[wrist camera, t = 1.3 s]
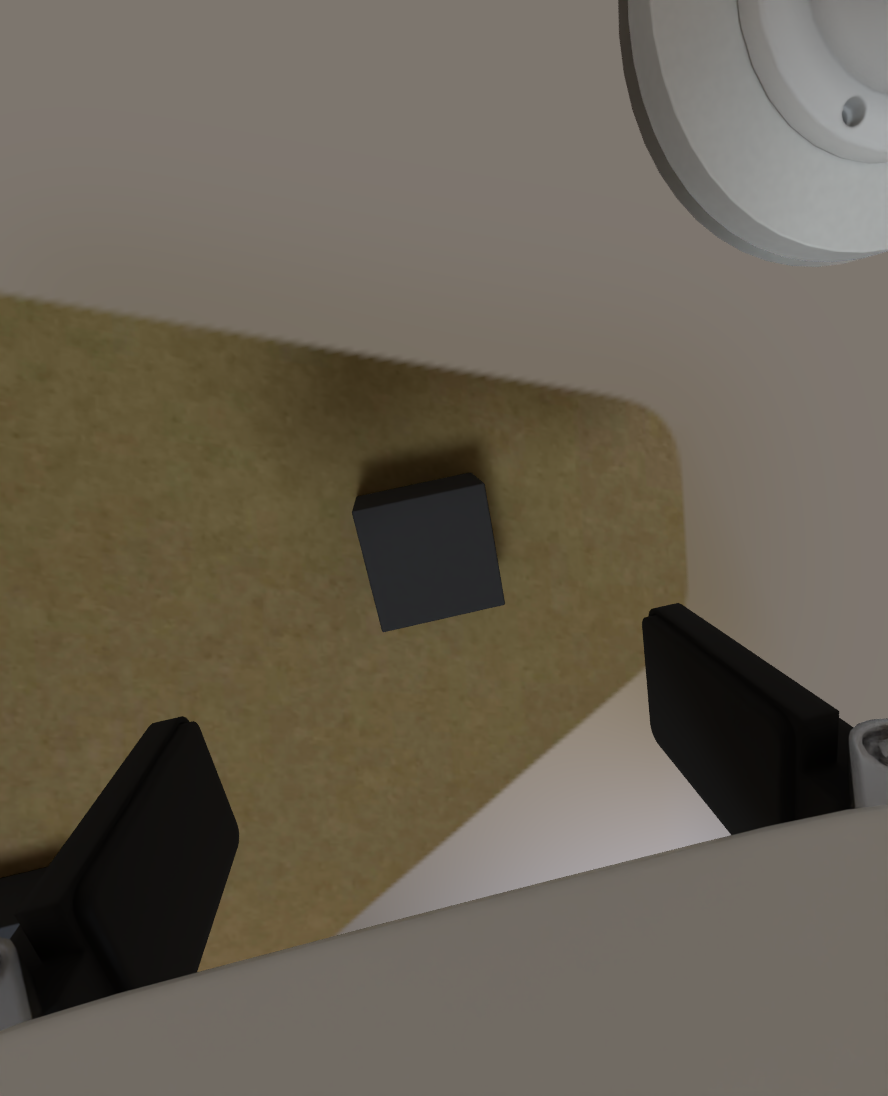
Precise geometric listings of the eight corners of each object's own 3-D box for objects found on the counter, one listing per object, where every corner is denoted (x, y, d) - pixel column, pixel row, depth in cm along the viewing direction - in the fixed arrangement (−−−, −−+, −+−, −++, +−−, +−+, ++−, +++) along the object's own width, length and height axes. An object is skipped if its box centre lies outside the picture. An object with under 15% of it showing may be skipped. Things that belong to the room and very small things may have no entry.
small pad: (471, 472, 22) (484, 482, 19) (490, 579, 23) (505, 605, 20) (355, 496, 22) (351, 511, 19) (382, 604, 23) (382, 632, 20)
